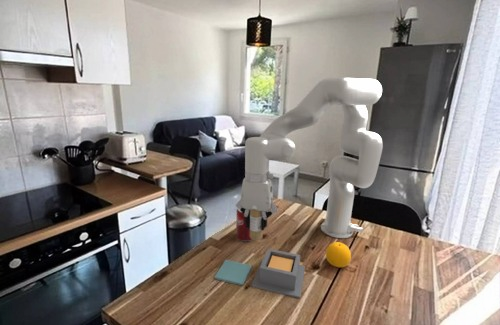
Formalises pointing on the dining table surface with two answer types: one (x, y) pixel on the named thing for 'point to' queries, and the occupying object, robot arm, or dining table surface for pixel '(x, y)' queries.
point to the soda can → (242, 227)
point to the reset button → (281, 263)
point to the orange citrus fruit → (338, 254)
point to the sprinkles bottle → (255, 224)
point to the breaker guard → (280, 275)
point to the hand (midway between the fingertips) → (256, 226)
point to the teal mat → (233, 272)
